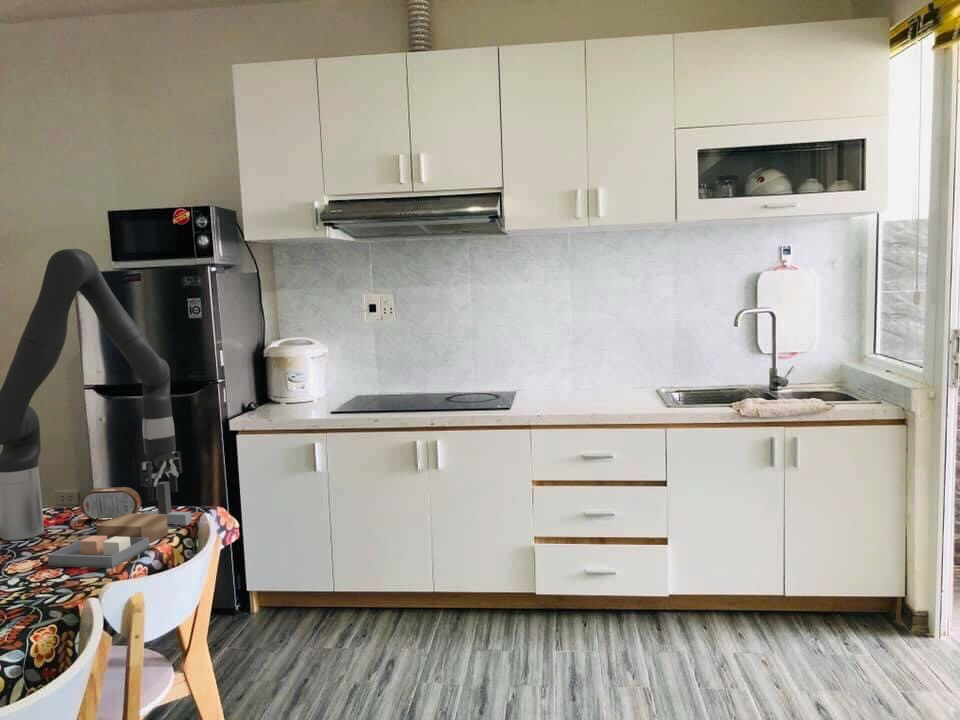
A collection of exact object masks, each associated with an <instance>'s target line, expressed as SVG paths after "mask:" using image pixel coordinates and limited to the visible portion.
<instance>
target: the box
mask: <svg viewBox="0 0 960 720" xmlns="http://www.w3.org/2000/svg"><path fill="white" fill-rule="evenodd" d="M90 536H91V535H88V536H85V537H84V538H82V539H79V540H77V541H75V542H72V543H70V544H68V545H66V546H64V547H61V548H60V549H58V550H55V551H53V552H51V553H49V554H47V565H48V567H64V568H68V567H69V568H92V569H95V568H96V569H114V568H116V567H118V566H120V565H122V564H123V563H125V562H126V561H128V560H130V559H132V558H134V557H136V556H138V555H139V554H142V553H143V552H145V551H147V550H149V549H150V544H149V538H140V537H130V544H131V546H129V547H128V548H126V549H124V550H122V551H120V552H118V553H116V554H114V555H104V551H102V552H100V553H99V554H81V546H80V541H82V540H84V539H86V538H88V537H90ZM110 538H112V537H107V539H110ZM117 565H118V566H117ZM115 566H116V567H115ZM113 567H114V568H113Z"/></svg>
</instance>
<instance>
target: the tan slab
mask: <svg viewBox="0 0 960 720" xmlns="http://www.w3.org/2000/svg"><path fill="white" fill-rule="evenodd" d="M168 527H169V525H167V514H141V513H136V514H134V513H123V514H121V515H119V516H116V517H114V518H112V519H110V520H104V521H103V522H100V523H99V524H96V525H95V528H96V529H95V530H96V536H107V537H114V536H118V537H140V538H149V545H151V544H152V543H154V542H155V541H157V540H159V539H161V538H163V537H165V536H166V535H168V534H169V530H168V529H169V528H168Z"/></svg>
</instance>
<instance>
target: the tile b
mask: <svg viewBox="0 0 960 720" xmlns="http://www.w3.org/2000/svg"><path fill="white" fill-rule="evenodd" d="M129 546H131V544H130V537H118V536H114V537H112V538H110V539H108V540H106V541H104V542H103V551H104V555H114V554H116V553H118V552H120V551H122V550H124V549H126V548H128V547H129Z"/></svg>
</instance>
